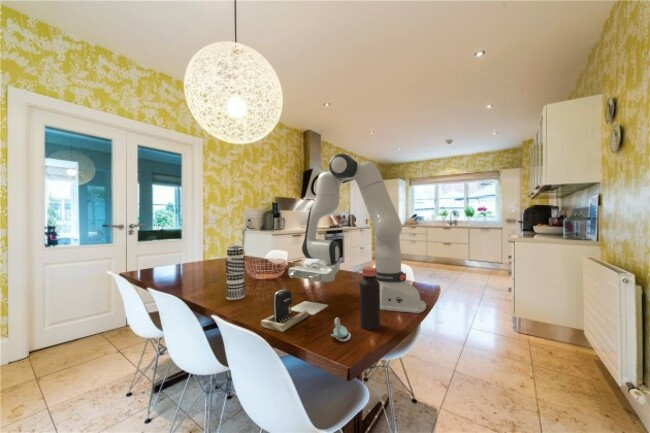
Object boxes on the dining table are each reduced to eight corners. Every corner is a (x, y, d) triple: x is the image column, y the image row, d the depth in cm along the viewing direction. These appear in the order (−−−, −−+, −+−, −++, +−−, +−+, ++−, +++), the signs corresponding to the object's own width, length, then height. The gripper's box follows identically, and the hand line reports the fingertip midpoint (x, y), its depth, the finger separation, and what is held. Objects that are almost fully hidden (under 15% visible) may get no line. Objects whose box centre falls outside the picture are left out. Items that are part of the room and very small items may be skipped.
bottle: (364, 321, 95) (363, 266, 95) (382, 324, 91) (382, 267, 91) (357, 328, 89) (356, 269, 89) (376, 332, 85) (375, 271, 85)
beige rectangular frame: (307, 316, 100) (307, 311, 100) (282, 331, 86) (282, 325, 86) (288, 312, 104) (288, 307, 104) (261, 326, 91) (261, 320, 91)
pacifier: (352, 334, 85) (334, 331, 86) (353, 315, 85) (335, 312, 86) (348, 344, 78) (329, 341, 79) (349, 323, 78) (329, 321, 79)
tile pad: (328, 305, 112) (328, 305, 112) (313, 315, 101) (313, 314, 101) (304, 301, 117) (304, 301, 117) (288, 310, 107) (288, 309, 107)
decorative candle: (249, 294, 129) (248, 244, 130) (238, 300, 120) (238, 246, 121) (232, 293, 131) (232, 244, 132) (221, 299, 122) (221, 246, 123)
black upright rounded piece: (281, 327, 90) (281, 294, 90) (273, 324, 92) (272, 292, 92) (293, 320, 96) (293, 289, 96) (285, 318, 98) (285, 288, 98)
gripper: (298, 261, 122) (280, 266, 110) (338, 266, 112) (322, 272, 100) (298, 275, 122) (280, 281, 110) (337, 281, 112) (322, 288, 100)
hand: (300, 277), depth 105 cm, fingers open, 8 cm apart
